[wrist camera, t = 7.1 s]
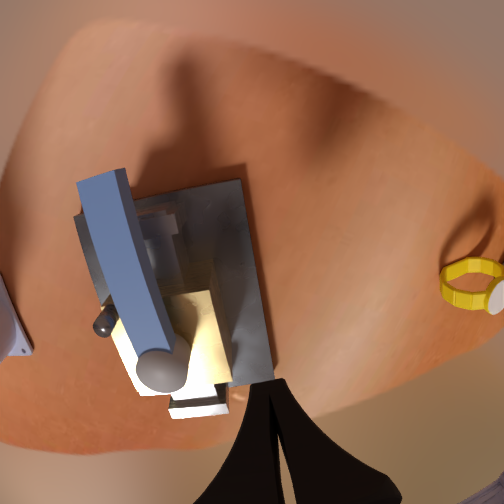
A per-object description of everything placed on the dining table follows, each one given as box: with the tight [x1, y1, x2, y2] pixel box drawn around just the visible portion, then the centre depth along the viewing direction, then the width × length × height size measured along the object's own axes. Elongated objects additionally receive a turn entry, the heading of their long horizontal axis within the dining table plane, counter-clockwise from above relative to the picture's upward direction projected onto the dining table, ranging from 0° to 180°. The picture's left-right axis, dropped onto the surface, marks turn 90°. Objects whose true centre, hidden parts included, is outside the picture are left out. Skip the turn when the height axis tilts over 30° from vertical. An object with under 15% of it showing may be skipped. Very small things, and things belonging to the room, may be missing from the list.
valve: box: [74, 178, 275, 419], centre depth 18 cm, size 11×15×7 cm
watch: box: [440, 257, 504, 315], centre depth 20 cm, size 6×3×6 cm, turn 106°
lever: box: [76, 168, 191, 393], centre depth 14 cm, size 11×3×2 cm, turn 11°
